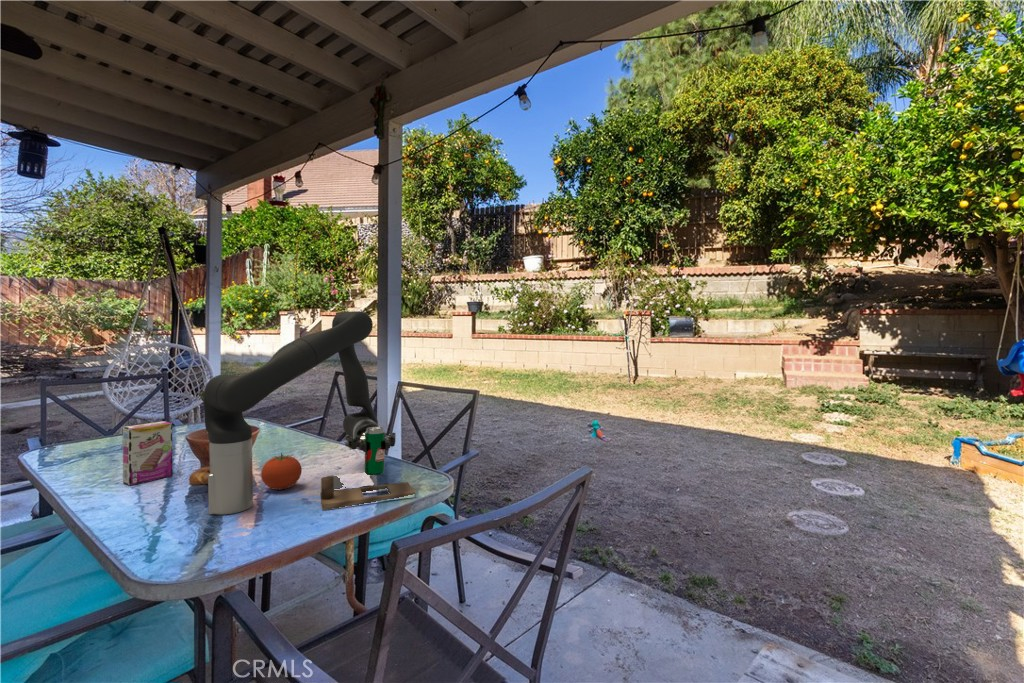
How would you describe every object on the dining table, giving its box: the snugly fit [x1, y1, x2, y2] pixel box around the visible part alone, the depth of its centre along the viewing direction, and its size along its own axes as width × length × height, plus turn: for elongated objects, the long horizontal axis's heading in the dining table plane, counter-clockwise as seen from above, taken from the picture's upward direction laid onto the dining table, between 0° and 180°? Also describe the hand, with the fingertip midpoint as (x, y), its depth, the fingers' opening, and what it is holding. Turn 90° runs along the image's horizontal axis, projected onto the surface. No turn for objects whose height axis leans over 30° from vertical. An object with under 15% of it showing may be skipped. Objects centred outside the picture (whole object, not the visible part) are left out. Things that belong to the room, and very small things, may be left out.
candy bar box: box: [121, 420, 173, 486], centre depth 144 cm, size 11×5×16 cm, turn 149°
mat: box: [326, 474, 346, 489], centre depth 143 cm, size 12×13×1 cm
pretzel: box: [188, 466, 210, 486], centre depth 145 cm, size 12×11×4 cm
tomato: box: [260, 452, 303, 491], centre depth 137 cm, size 10×10×10 cm
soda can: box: [364, 426, 386, 476], centre depth 130 cm, size 5×5×12 cm
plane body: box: [319, 476, 416, 511], centre depth 130 cm, size 23×9×6 cm, turn 114°
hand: (376, 447), depth 128 cm, fingers closed on soda can, 5 cm apart
